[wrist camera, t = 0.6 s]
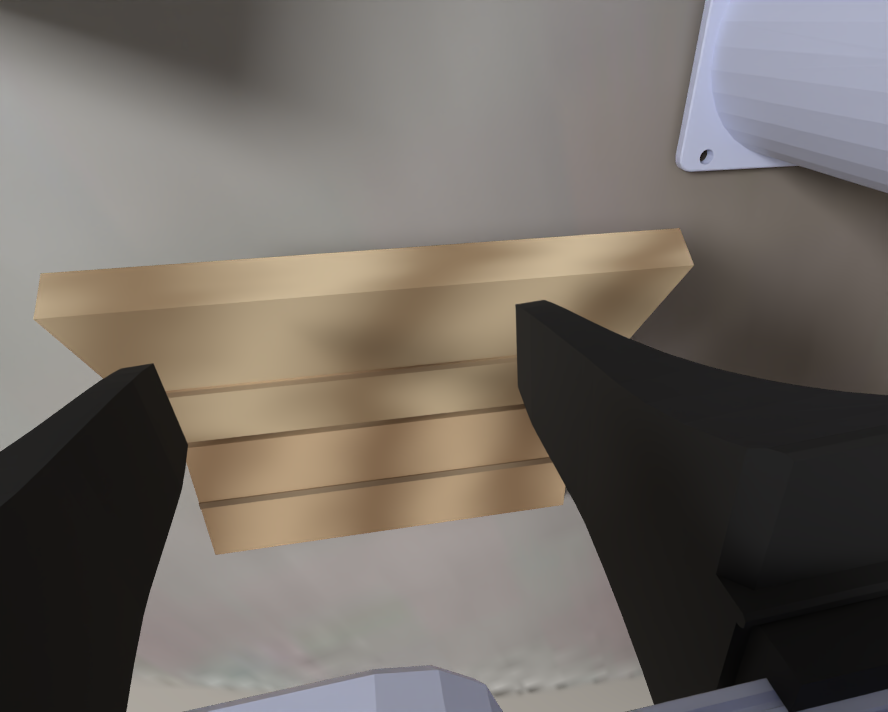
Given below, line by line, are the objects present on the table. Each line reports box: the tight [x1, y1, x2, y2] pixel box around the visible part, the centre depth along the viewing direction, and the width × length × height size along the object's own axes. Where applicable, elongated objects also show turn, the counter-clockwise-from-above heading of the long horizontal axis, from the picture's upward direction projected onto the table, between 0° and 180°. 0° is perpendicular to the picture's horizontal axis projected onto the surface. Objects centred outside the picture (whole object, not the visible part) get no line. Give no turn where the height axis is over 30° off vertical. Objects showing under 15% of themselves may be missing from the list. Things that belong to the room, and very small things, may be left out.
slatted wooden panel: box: [34, 228, 694, 443], centre depth 19 cm, size 16×10×1 cm
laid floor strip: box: [186, 404, 565, 555], centre depth 25 cm, size 16×6×1 cm, turn 90°
